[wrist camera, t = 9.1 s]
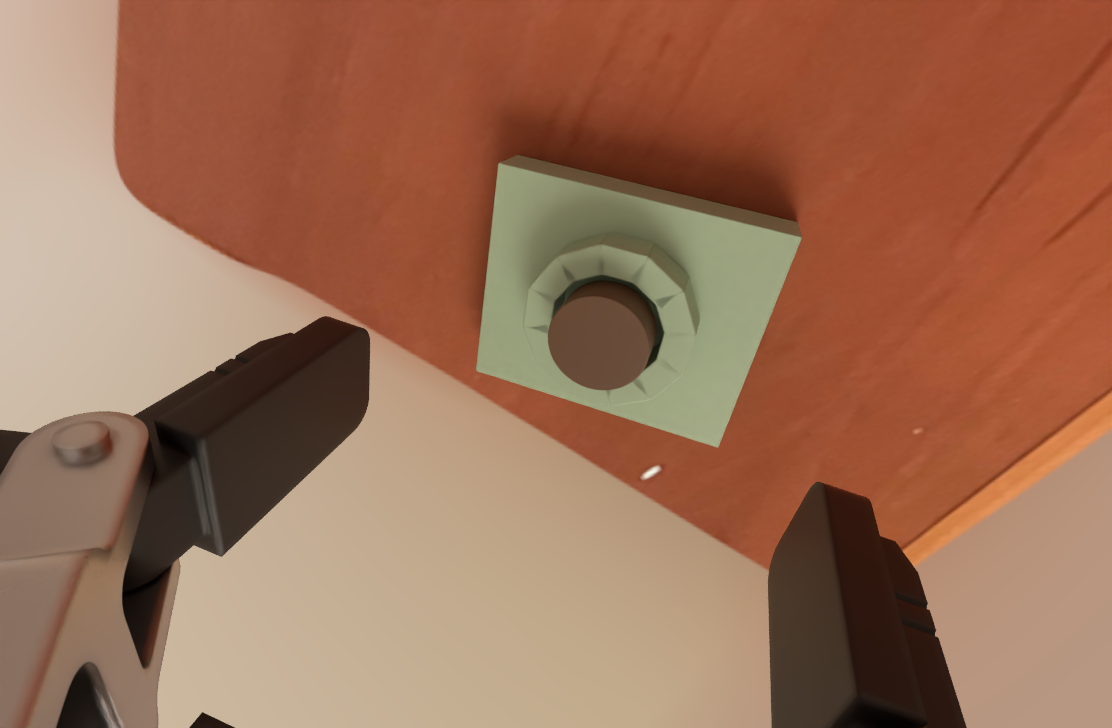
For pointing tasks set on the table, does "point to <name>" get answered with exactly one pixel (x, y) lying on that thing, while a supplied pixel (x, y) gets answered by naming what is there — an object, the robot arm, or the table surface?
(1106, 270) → the table surface
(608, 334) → the bell button
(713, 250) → the doorbell
